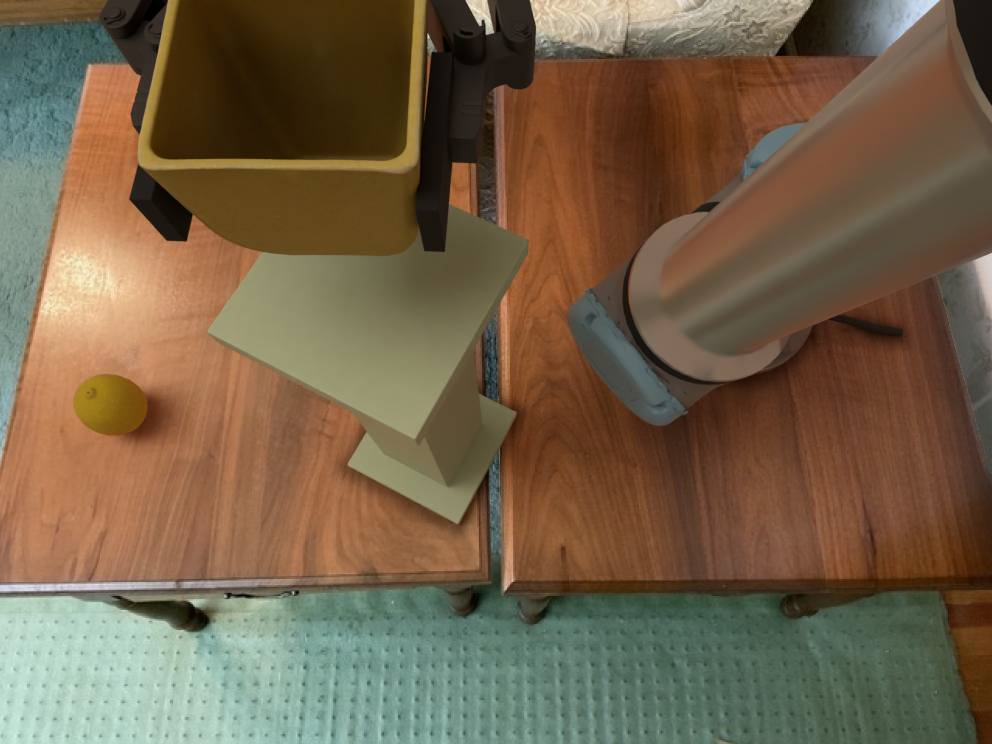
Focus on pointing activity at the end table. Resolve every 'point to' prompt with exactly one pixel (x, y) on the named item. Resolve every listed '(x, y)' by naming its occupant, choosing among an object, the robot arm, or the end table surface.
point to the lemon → (110, 404)
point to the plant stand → (391, 350)
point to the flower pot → (292, 121)
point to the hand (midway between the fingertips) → (294, 226)
